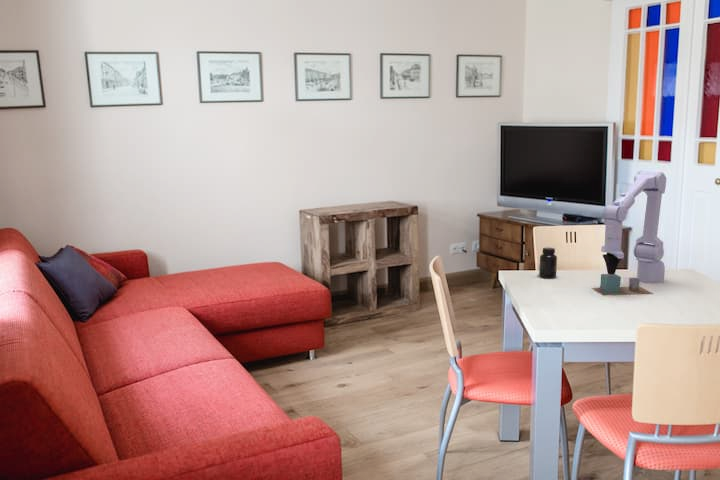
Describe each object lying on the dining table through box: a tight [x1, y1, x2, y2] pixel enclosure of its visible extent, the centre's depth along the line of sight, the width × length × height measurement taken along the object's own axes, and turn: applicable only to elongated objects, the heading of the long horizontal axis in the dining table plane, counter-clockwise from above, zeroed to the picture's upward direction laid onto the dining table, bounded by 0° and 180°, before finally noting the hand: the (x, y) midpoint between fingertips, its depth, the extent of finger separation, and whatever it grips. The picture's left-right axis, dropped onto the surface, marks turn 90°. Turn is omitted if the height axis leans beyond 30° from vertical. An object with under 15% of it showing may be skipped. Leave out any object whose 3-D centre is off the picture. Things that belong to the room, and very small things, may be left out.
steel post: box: [628, 277, 640, 291], centre depth 247 cm, size 3×3×5 cm
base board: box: [591, 285, 654, 296], centre depth 248 cm, size 19×11×1 cm, turn 94°
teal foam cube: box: [599, 273, 622, 293], centre depth 247 cm, size 5×5×6 cm
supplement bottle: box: [538, 247, 558, 279], centre depth 273 cm, size 7×7×12 cm
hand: (611, 273), depth 246 cm, fingers closed
